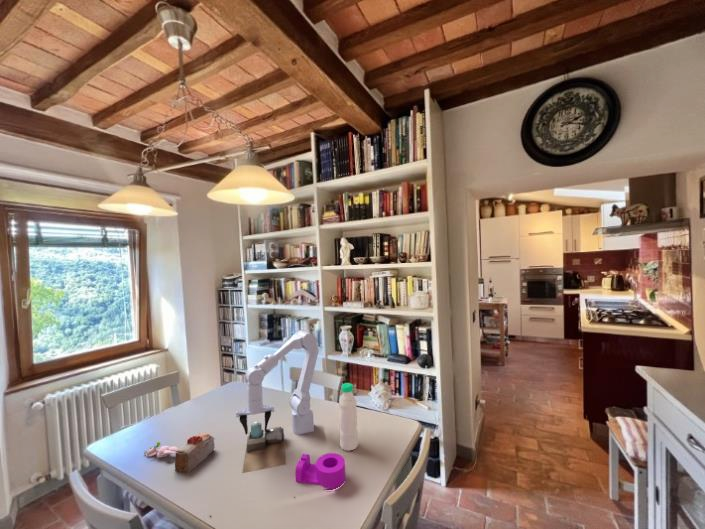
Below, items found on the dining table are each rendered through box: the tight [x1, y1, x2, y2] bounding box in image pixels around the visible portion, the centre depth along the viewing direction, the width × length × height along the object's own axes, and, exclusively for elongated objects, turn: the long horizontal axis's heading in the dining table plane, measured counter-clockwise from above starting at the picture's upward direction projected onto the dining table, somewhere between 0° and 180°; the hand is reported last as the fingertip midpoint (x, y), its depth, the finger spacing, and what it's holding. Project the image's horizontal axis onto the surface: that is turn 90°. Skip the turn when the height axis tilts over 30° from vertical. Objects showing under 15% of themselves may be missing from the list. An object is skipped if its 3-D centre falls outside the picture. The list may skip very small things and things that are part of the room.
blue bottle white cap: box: [250, 421, 262, 439], centre depth 119 cm, size 4×4×6 cm
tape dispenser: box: [294, 452, 346, 490], centre depth 101 cm, size 16×10×6 cm, turn 78°
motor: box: [246, 426, 285, 452], centre depth 120 cm, size 14×7×6 cm, turn 105°
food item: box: [174, 432, 216, 473], centre depth 112 cm, size 14×8×10 cm, turn 169°
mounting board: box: [242, 437, 287, 474], centre depth 115 cm, size 15×20×1 cm
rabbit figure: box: [143, 441, 179, 459], centre depth 116 cm, size 6×6×15 cm
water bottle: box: [338, 382, 359, 451], centre depth 119 cm, size 7×7×25 cm
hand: (256, 431), depth 119 cm, fingers open, 7 cm apart
